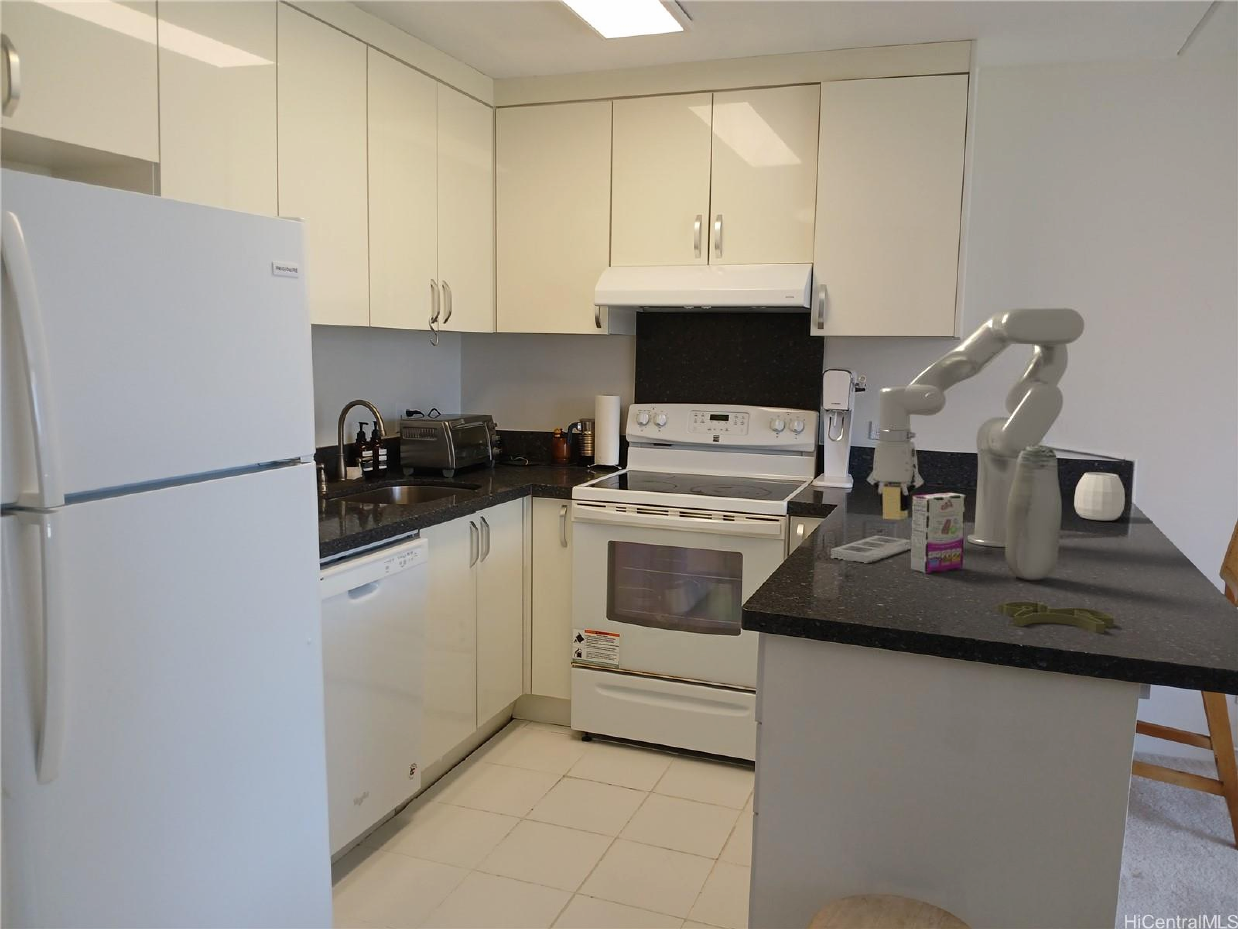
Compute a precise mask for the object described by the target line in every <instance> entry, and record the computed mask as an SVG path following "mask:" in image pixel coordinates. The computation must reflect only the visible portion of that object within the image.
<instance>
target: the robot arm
mask: <svg viewBox="0 0 1238 929" xmlns="http://www.w3.org/2000/svg"><path fill="white" fill-rule="evenodd" d="M1084 330H1085V320H1084V318H1083V316H1082V315H1081V313H1080V312H1078V311H1076V310H1075V309H1072V308H1068V307H1067V308H1066V307H1063V308H1060V307H1058V308H1055V307H1054V308H1052V307H1051V308H1019V307H1018V308H1010V309H1009V308H1008V309H1003V310H998V311H996V312H994V313H993V314H991V315H990V316H989V317H987V318H986V319H985V320H984V321H983V322H982V323H981V324H980V325H979V326H978V327H977V328H976V329H975V330H973V331H972V333H971V334H969V335H968V336H967V337H966V338H964V339H963V340H962V342H961V343H959V344H958V345H957V346H956V347H954V349H952V350H951V351H949V352H948V353H946V354H944V356H942V357H941V358H939V359H938V360H936V361H935V362H933V364H931V365H930V366H929V367H927V368H926V369H925V370H923V371H922V372H921V373H920V374H919V375H918V376H916V377H915V379H913V380H912V381H911V382H910V383H909V384H908V385H907V386H887V387H883V388H880V389H879V391H878V392H877V393H878V394H877V395H878V396H877V398H878V399H877V400H878V403H877V404H878V406H877V407H878V411H877V416H878V441H877V442H876V444H875V449H874V454H873V464H872V465H873V466H872V467H873V470H872V471H871V472H870V474H869V476H868V477H867V479H866V481H867V482H868V483H870V485H872V486H873V487H874V488H875V489H876V490H877V492H878V494H879V498H880V499H879V500H880V501H879V505H880V506H881V510H882V511H883V486H887V485H890V484H889V483H892V484H901V486H902V490H903V495H902V496H901V510H902V511H906V510H908V511H909V510H910V507H911V494H912V493H913V492H914V491H915V490H916V489H917V488H919V487H920V486H921V485H923V484H924V482H925V480H924V479H923V478H922V476H921V475H920V473H919V470H918V468H919V466H918V456H917V450H916V445H915V442H913V441H911V440H912V439H915V438H916V437H917V436H916V435H917V434H916V432H912V429H911V415H916V416H925V417H926V416H928V417H929V416H934V415H936V414H938V413H940V412H941V411H943V409H944V408H945V405H946V395H945V391H947V390H948V389H950V388H951V387H953V386H954V385H956V384H958V383H960V382H963V381H965V380H968V379H971V378H973V377H975V376H976V375H977V376H978V374H980V373H981V372H983V371H984V370H985V369H986V368H987V367H988V366H989V365H991V363H993V362H994V361H995V360H996V359H997V358H998V357H999V356H1000V355H1001V354H1003V352H1005V350H1006V349H1008V348H1009V347H1010V346H1012V345H1031V348H1032V349H1031V350H1032V352H1031V357H1030V359H1029V362H1028V363H1027V364H1026V366H1025V368H1024V369H1023V371H1022V372H1021V374H1020V376H1018V378H1017V379H1016V381H1015V383H1013V385H1012V387H1011V388H1010V390H1009V391H1008V392H1007V394H1006V397H1005V398H1004V399H1005V400H1004V405H1005V408H1006V411H1007V412H1008V413H1009V414H1010V417H1004V416H998V417H997V416H996V417H991V418H989V419H987V420H985V421H984V422H983V423H981V425H980V427H978V430H977V432H976V452H977V481H976V482H977V484H976V497H975V498H976V499H975V501H976V503H975V516H974V518H975V520H974V533H973V534H970V535H969V534H968V535H967V541H968V542H969V543H972V544H975V545H980V546H987V547H995V548H996V547H997V548H1005V543H1006V517H1007V503H1008V498H1009V494H1010V490H1011V487H1012V484H1013V481H1014V478H1015V473H1016V468H1017V461H1018V457H1019V454H1020V453H1021V451H1022V450H1023V449H1024V448H1026V447H1028V446H1031V445H1040V443H1041V442H1042V441H1043V439H1044V438H1045V436H1046V435H1047V434H1048V432H1049V430H1050V429H1051V427H1052V426H1053V424H1054V423H1055V421H1057V418H1058V417H1059V415H1060V414H1061V412H1062V408H1063V406H1064V396H1063V394H1062V393H1063V392H1062V391H1061V389H1060V387H1058V384H1059V383H1060V381H1061V380H1062V378H1063V376H1064V375H1065V373H1066V370H1067V368H1068V363H1069V362H1068V361H1069V355H1068V354H1069V353H1068V347H1067V345H1069V344H1071V343H1074V342H1075V341H1077V340H1078V339H1079V338H1080V337H1081V336H1082V334H1083V332H1084ZM911 482H913V483H912V484H911Z"/></svg>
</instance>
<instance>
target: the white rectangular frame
mask: <svg viewBox="0 0 1238 929" xmlns="http://www.w3.org/2000/svg"><path fill="white" fill-rule="evenodd" d="M908 550H911V539H904V538H902V539H901V538H897V537H889V536H881V535H873V536H871V537H867V538H864V539H860V540H858V541H854V542H850V543H848V544H844V545H841V546H840V545H839V546H838V547H833V548H831V549H830V559H834V558H838V559H837V560H840V559H843V560H842V561H846V562H847V561H848V562H853V561H859V562H864V563H863V564H866V563H868V564H870V563H869V562H871V563H873V562H872V561H874V562H876V561H879V560H881V558H882V559H885V558H888V557H891V556H894V555H897V554H899V553H902V552H905V551H908ZM859 562H858V563H859Z"/></svg>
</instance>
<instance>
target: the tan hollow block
mask: <svg viewBox="0 0 1238 929" xmlns="http://www.w3.org/2000/svg"><path fill="white" fill-rule="evenodd" d="M902 495H903V490H902V486H901V483H891V484H888V485H887V486H883V510H882V519H884V520H885V519H886V520H887V519H888V520H900V521H901V520H904V519H906V518H908V517H909V514H908V511H909V510H906V511H902V510H901V496H902Z"/></svg>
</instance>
